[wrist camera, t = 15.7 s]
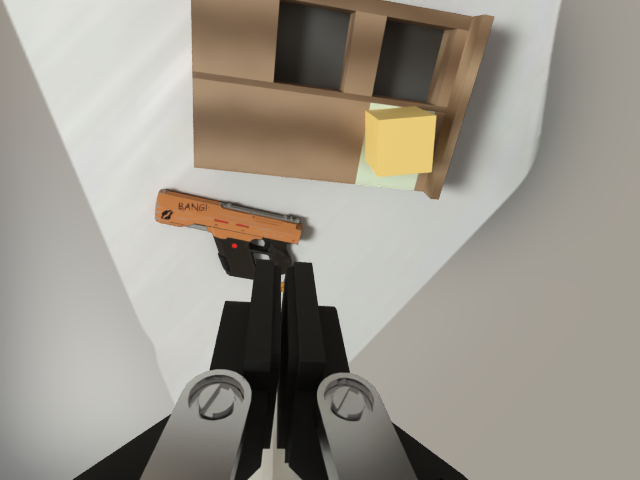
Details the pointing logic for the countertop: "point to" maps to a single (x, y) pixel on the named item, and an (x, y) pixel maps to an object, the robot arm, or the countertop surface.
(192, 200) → the toy gun
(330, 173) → the wooden tray
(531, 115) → the countertop surface
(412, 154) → the block
